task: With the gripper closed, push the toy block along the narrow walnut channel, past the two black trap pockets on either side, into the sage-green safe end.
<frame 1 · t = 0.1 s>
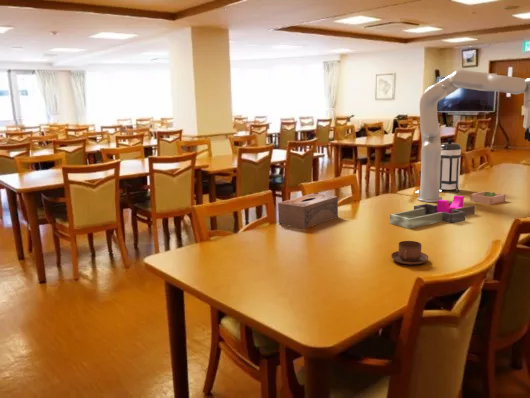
hand: (529, 140, 230), 31 cm above the table, tool pointing down, fingers open, 9 cm apart
cup and saucer: (409, 262, 161), on the table
toy block: (452, 215, 221), on the table
lantern: (448, 191, 274), on the table
tissue box cover: (308, 221, 219), on the table
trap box: (435, 218, 215), on the table
seedling: (487, 202, 244), on the table
planter frame: (487, 200, 245), on the table
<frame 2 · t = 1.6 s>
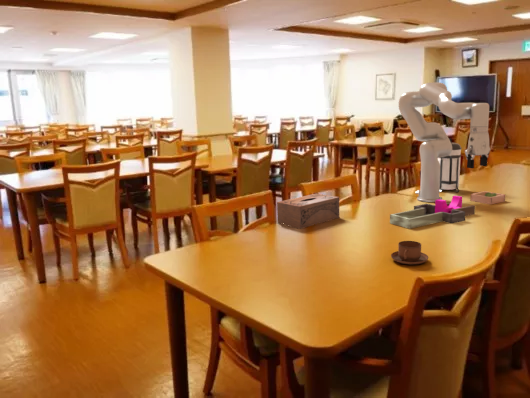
hand: (477, 167, 223), 21 cm above the table, tool pointing down, fingers open, 9 cm apart
seedling: (488, 202, 243), on the table
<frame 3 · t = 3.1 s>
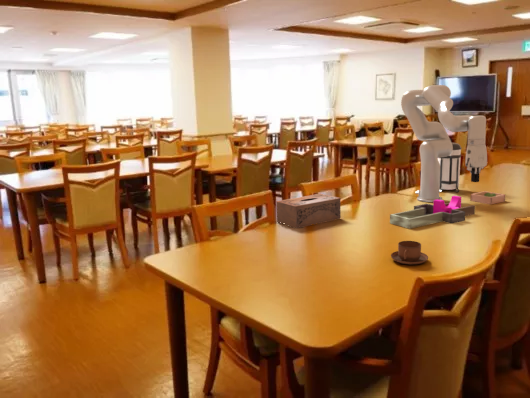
hand: (475, 181, 224), 14 cm above the table, tool pointing down, fingers closed
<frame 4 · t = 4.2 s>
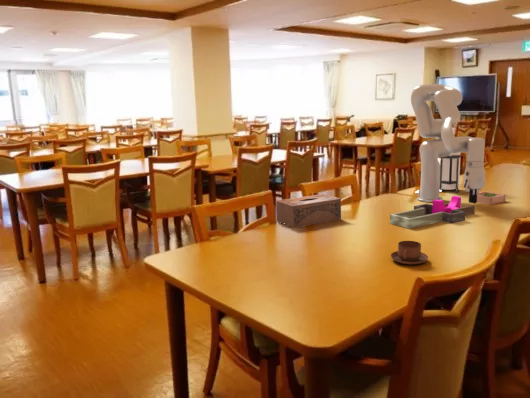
hand: (472, 202, 226), 4 cm above the table, tool pointing down, fingers closed
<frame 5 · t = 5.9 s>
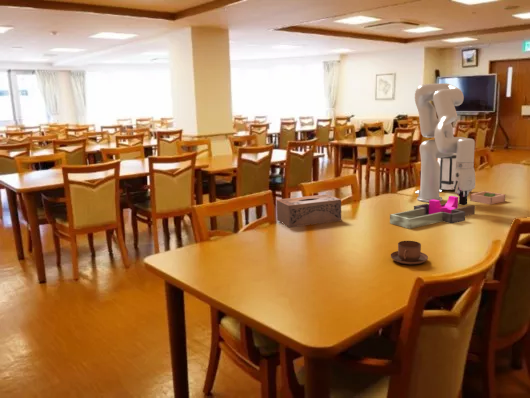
hand: (462, 204, 222), 4 cm above the table, tool pointing down, fingers closed
toy block: (445, 215, 220), on the table, touching gripper
seedling: (487, 203, 242), on the table, touching planter frame
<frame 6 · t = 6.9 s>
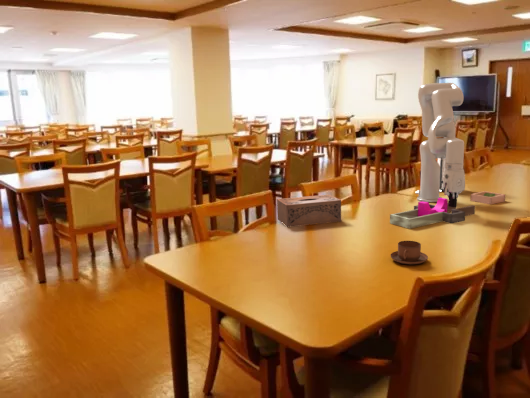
hand: (452, 206, 219), 4 cm above the table, tool pointing down, fingers closed
toy block: (434, 217, 216), on the table
seedling: (487, 203, 242), on the table
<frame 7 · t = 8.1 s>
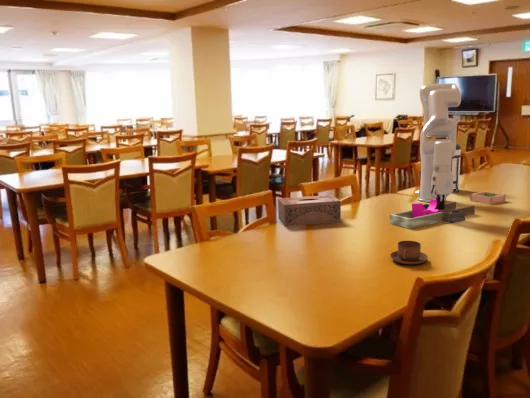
hand: (440, 209, 215), 4 cm above the table, tool pointing down, fingers closed
toy block: (429, 218, 214), on the table, touching gripper, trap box
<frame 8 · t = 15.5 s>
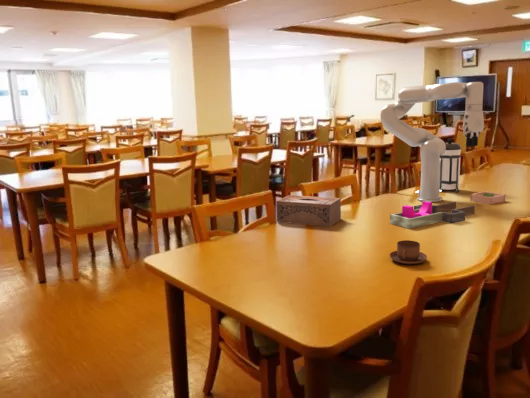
hand: (471, 145, 235), 29 cm above the table, tool pointing down, fingers open, 3 cm apart
toy block: (419, 221, 211), on the table
at the end: toy block 2.6 cm from the target spot on the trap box, point 0.0 cm above the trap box's base; toy block tilted 0°; the gripper is holding nothing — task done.
